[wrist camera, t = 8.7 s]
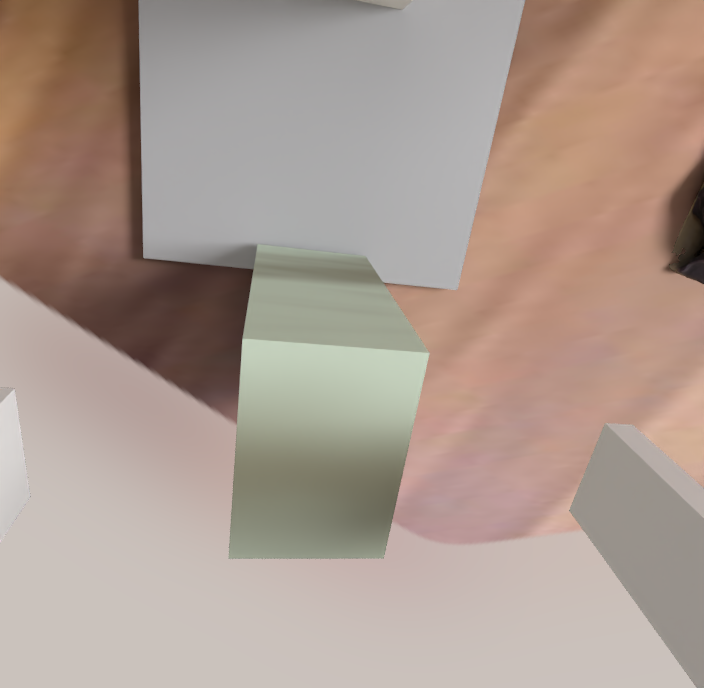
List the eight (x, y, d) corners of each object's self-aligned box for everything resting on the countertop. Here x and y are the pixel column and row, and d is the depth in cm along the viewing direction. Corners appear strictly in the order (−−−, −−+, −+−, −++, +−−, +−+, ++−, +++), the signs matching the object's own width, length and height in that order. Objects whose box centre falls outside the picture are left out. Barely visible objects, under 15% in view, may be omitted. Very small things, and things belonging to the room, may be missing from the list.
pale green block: (257, 244, 18) (242, 339, 10) (365, 255, 19) (429, 353, 11) (247, 389, 20) (228, 558, 12) (343, 395, 21) (383, 558, 13)
